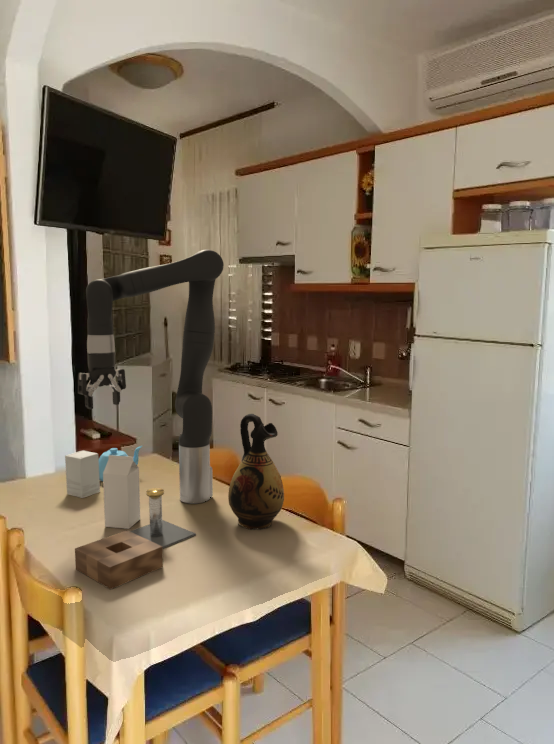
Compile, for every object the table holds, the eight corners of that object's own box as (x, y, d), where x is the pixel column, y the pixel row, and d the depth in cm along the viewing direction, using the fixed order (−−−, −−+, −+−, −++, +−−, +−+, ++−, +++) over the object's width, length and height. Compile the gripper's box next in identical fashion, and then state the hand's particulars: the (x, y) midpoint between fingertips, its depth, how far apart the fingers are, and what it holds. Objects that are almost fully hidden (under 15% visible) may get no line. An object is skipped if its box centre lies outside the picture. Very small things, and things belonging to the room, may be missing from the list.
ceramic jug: (295, 522, 165) (296, 416, 161) (256, 539, 154) (256, 425, 150) (252, 506, 177) (252, 407, 173) (213, 521, 165) (211, 415, 161)
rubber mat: (162, 521, 165) (162, 519, 165) (195, 535, 156) (195, 533, 156) (119, 536, 155) (118, 535, 155) (152, 552, 146) (152, 550, 146)
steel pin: (158, 529, 158) (156, 486, 156) (168, 534, 155) (167, 490, 154) (144, 534, 155) (142, 491, 153) (154, 539, 152) (153, 495, 150)
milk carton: (129, 529, 160) (127, 460, 157) (104, 527, 161) (102, 458, 158) (140, 519, 167) (138, 453, 164) (116, 517, 168) (114, 451, 165)
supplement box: (100, 492, 189) (99, 453, 187) (81, 498, 183) (80, 458, 181) (85, 487, 193) (83, 449, 191) (66, 494, 187) (64, 455, 185)
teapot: (108, 469, 212) (107, 441, 211) (146, 473, 208) (145, 444, 207) (83, 482, 198) (82, 452, 197) (123, 486, 194) (122, 456, 193)
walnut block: (127, 549, 147) (126, 530, 147) (162, 566, 138) (162, 546, 137) (75, 569, 137) (74, 548, 136) (110, 589, 128) (109, 567, 127)
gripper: (115, 347, 177) (116, 401, 180) (71, 351, 167) (73, 408, 169) (130, 349, 172) (131, 404, 175) (85, 353, 162) (88, 412, 164)
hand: (103, 406), depth 172 cm, fingers open, 8 cm apart
